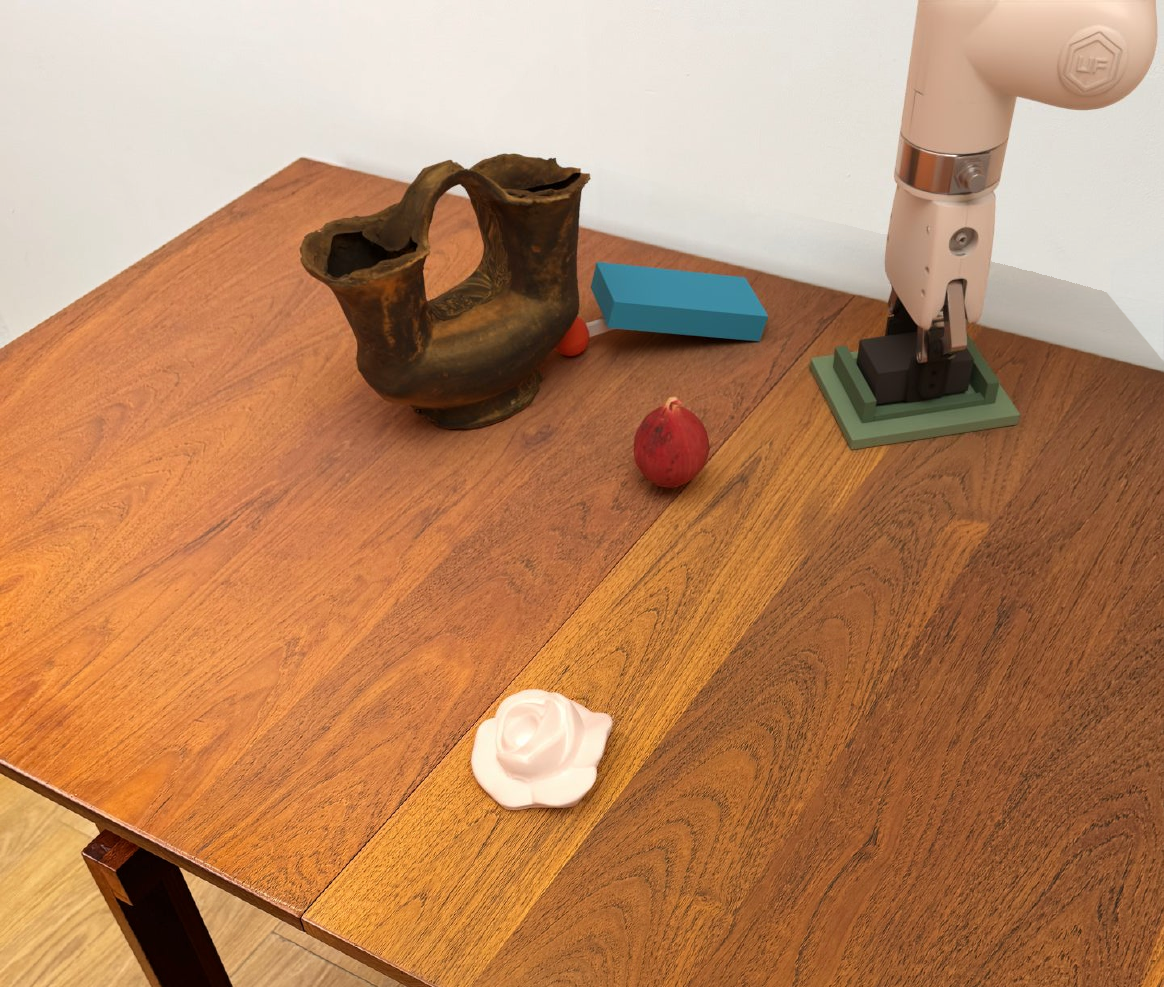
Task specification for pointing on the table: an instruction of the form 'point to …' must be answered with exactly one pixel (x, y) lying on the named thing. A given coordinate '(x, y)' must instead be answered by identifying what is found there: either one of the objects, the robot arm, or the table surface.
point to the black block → (904, 365)
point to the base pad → (909, 404)
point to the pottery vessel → (460, 289)
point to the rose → (539, 750)
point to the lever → (668, 305)
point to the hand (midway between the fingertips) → (912, 376)
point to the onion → (671, 445)
